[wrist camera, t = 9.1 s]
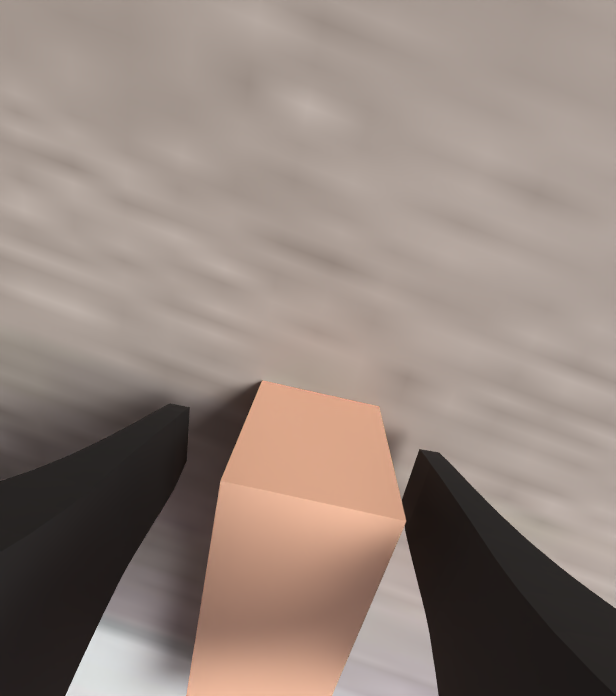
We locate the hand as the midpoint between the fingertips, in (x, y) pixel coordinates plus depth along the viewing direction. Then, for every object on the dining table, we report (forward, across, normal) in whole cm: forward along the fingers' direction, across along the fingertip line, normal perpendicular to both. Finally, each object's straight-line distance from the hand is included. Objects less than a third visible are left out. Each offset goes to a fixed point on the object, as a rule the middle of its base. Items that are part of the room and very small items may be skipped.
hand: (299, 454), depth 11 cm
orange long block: (+2, 0, +6) cm, 7 cm away
